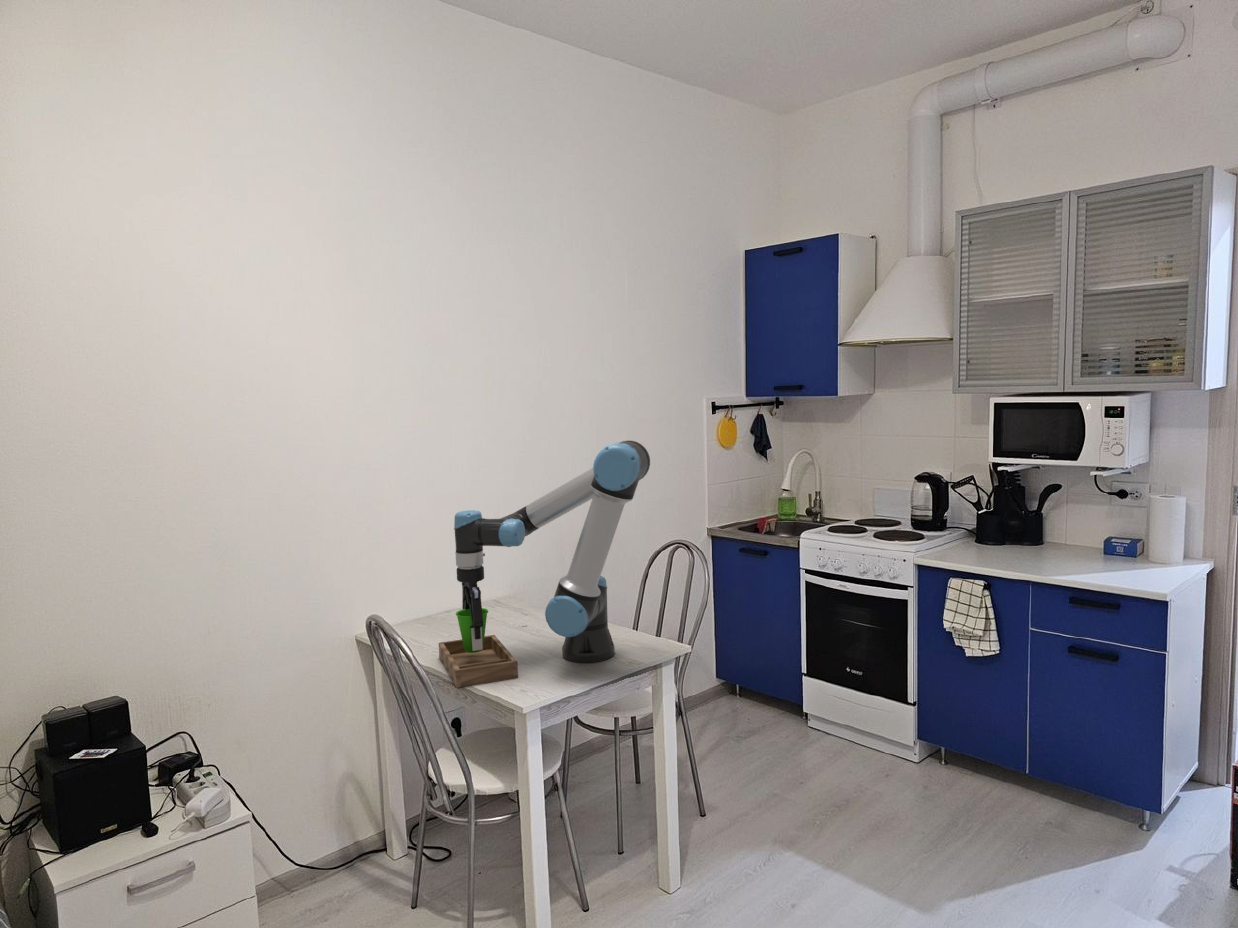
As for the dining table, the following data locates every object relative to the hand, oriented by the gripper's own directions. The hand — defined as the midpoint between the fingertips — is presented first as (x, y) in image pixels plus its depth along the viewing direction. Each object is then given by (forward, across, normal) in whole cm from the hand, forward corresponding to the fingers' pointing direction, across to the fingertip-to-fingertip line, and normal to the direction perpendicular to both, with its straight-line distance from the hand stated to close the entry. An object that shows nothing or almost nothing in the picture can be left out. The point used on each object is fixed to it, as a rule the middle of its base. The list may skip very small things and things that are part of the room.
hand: (473, 644), depth 230 cm
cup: (+2, 0, 0) cm, 2 cm away
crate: (+5, -4, 0) cm, 7 cm away
